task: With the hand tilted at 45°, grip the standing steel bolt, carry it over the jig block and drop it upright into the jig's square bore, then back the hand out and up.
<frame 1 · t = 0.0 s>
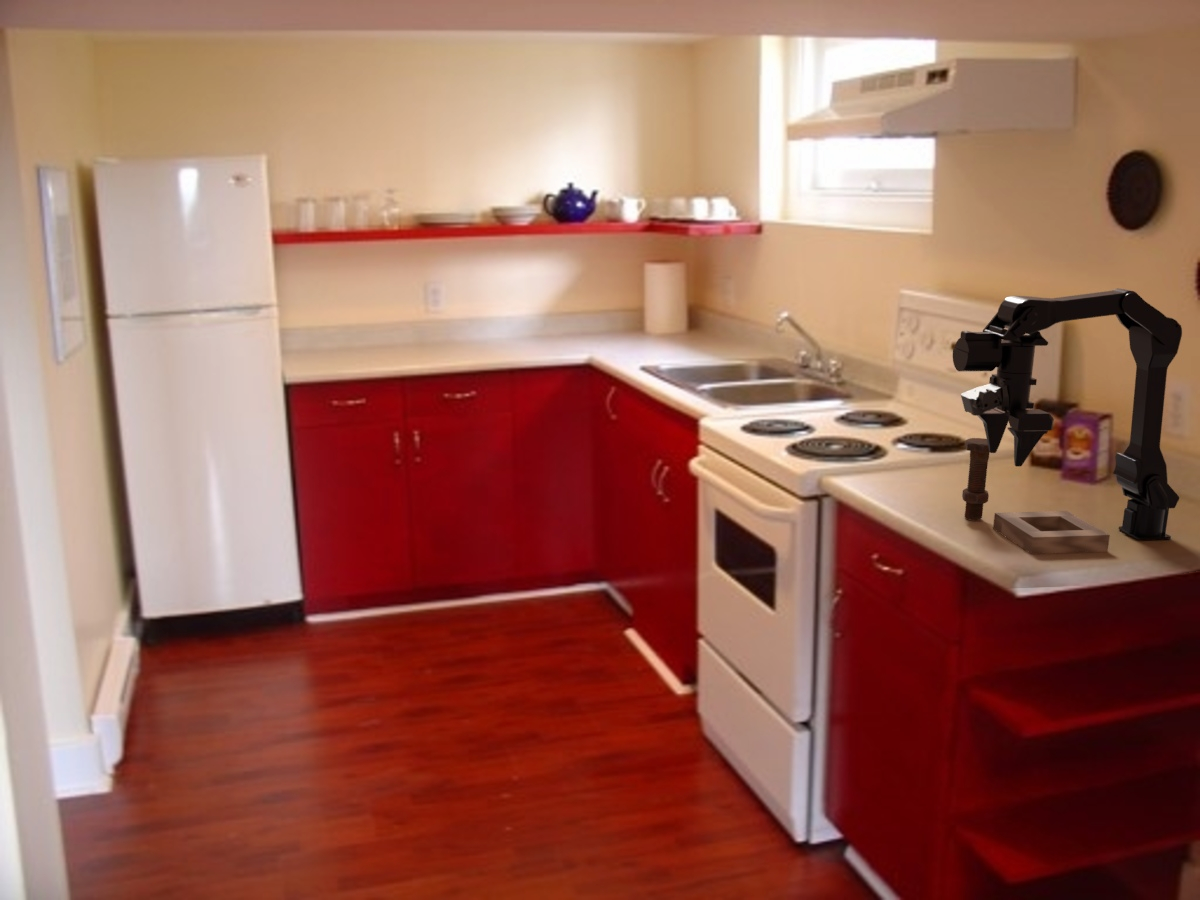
hand: (1005, 459, 200), 15 cm above the countertop, tool pointing down, fingers open, 9 cm apart
jig: (1048, 539, 204), on the countertop
bolt: (972, 519, 215), on the countertop
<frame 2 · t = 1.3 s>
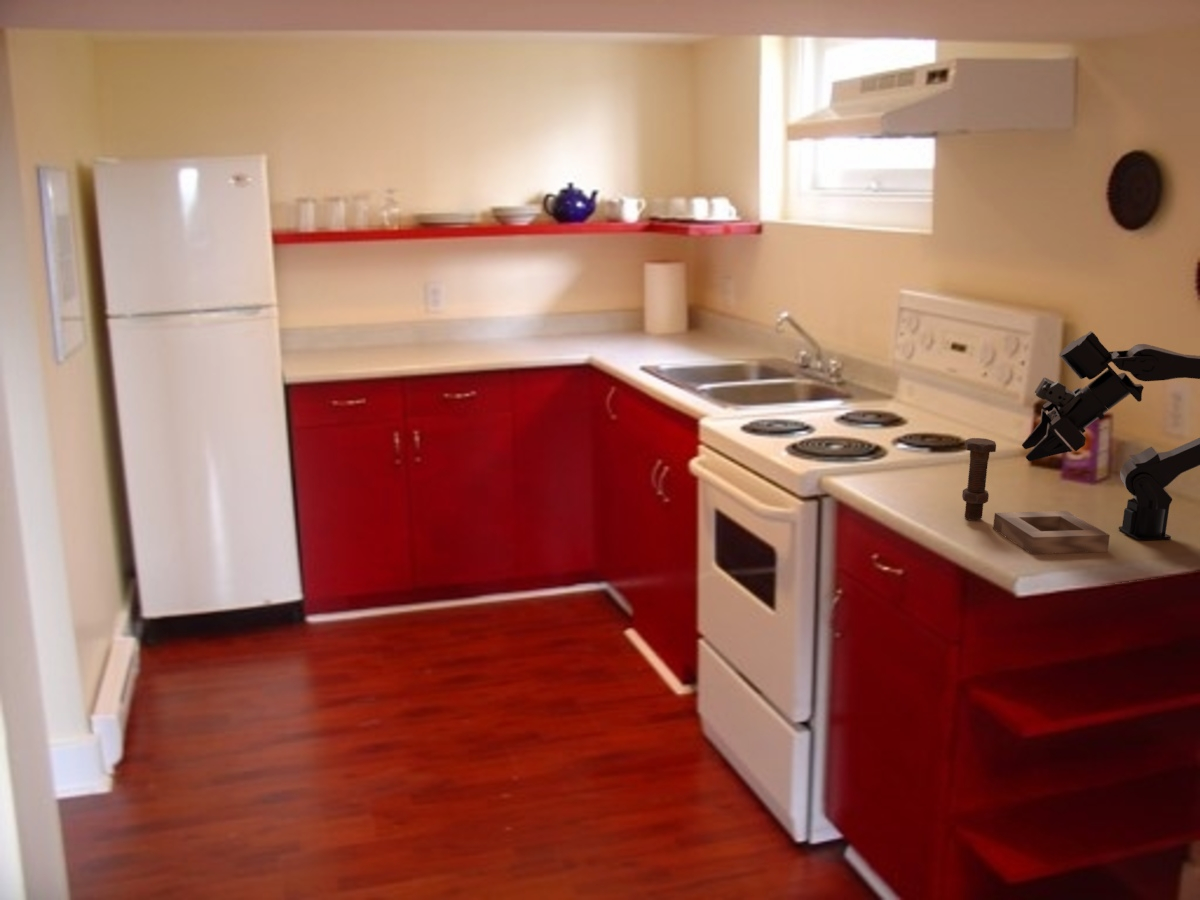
hand: (1025, 453, 210), 13 cm above the countertop, tool tilted 45°, fingers open, 9 cm apart
nothing on the countertop moved.
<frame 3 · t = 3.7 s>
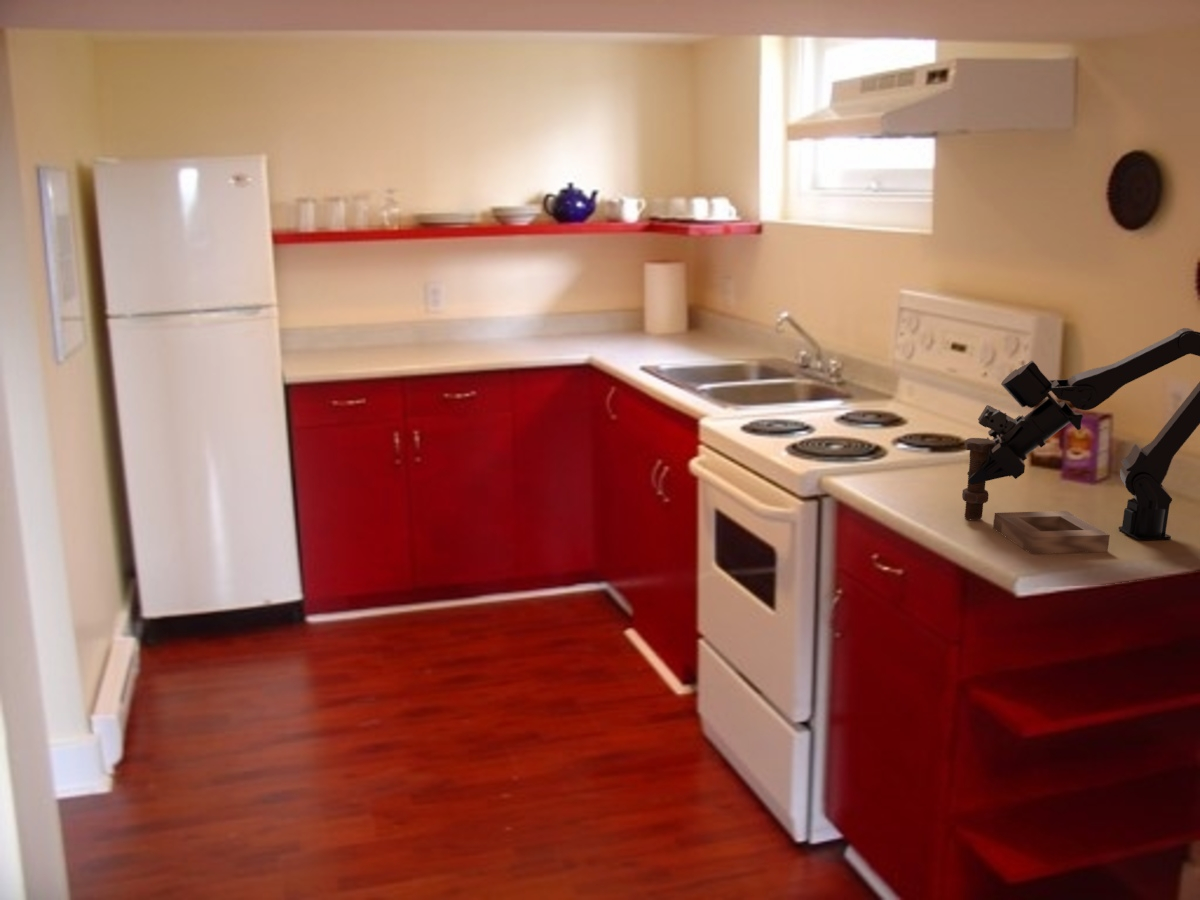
hand: (969, 479, 214), 8 cm above the countertop, tool tilted 45°, fingers closed on bolt, 5 cm apart
bolt: (972, 519, 215), on the countertop, touching gripper
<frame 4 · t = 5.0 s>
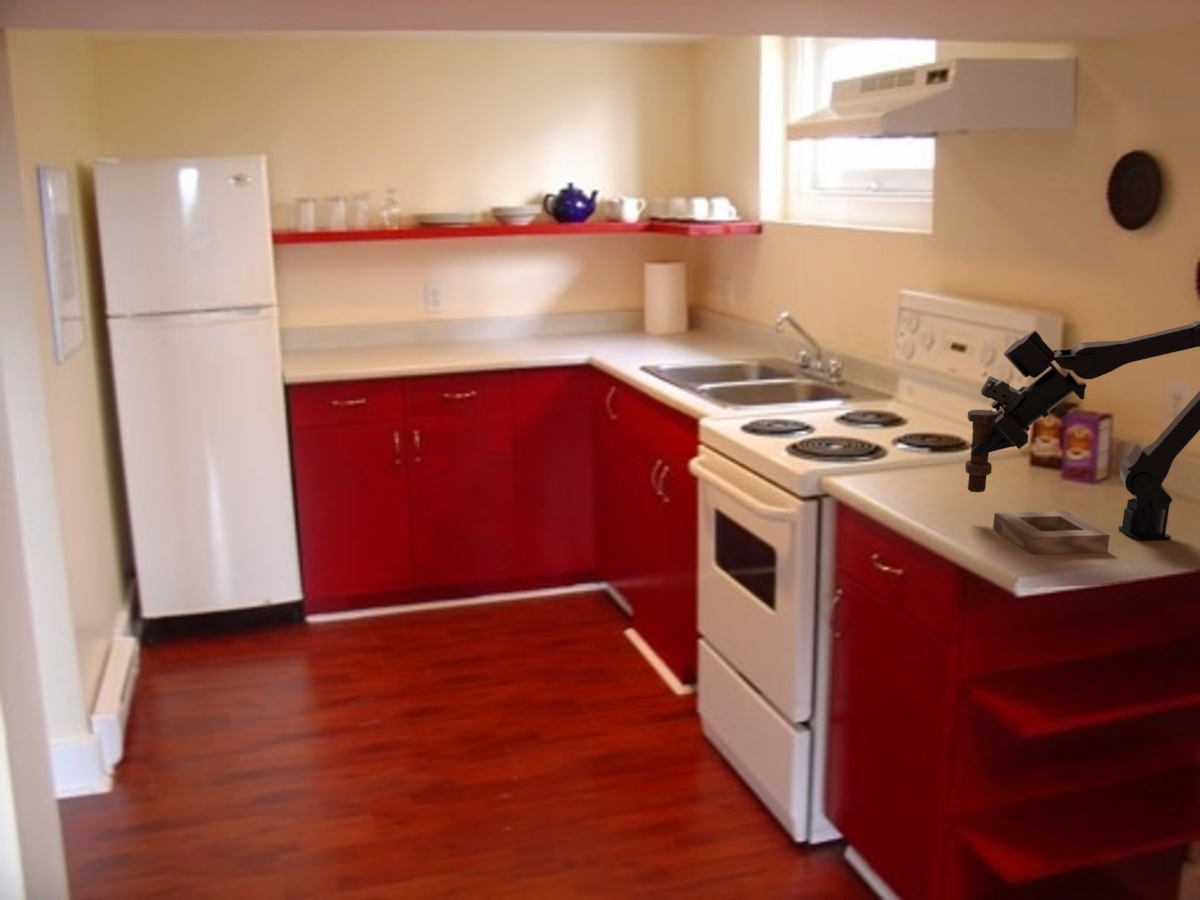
hand: (972, 451, 213), 13 cm above the countertop, tool tilted 45°, fingers closed on bolt, 5 cm apart
bolt: (976, 492, 214), point 5 cm above the countertop, touching gripper
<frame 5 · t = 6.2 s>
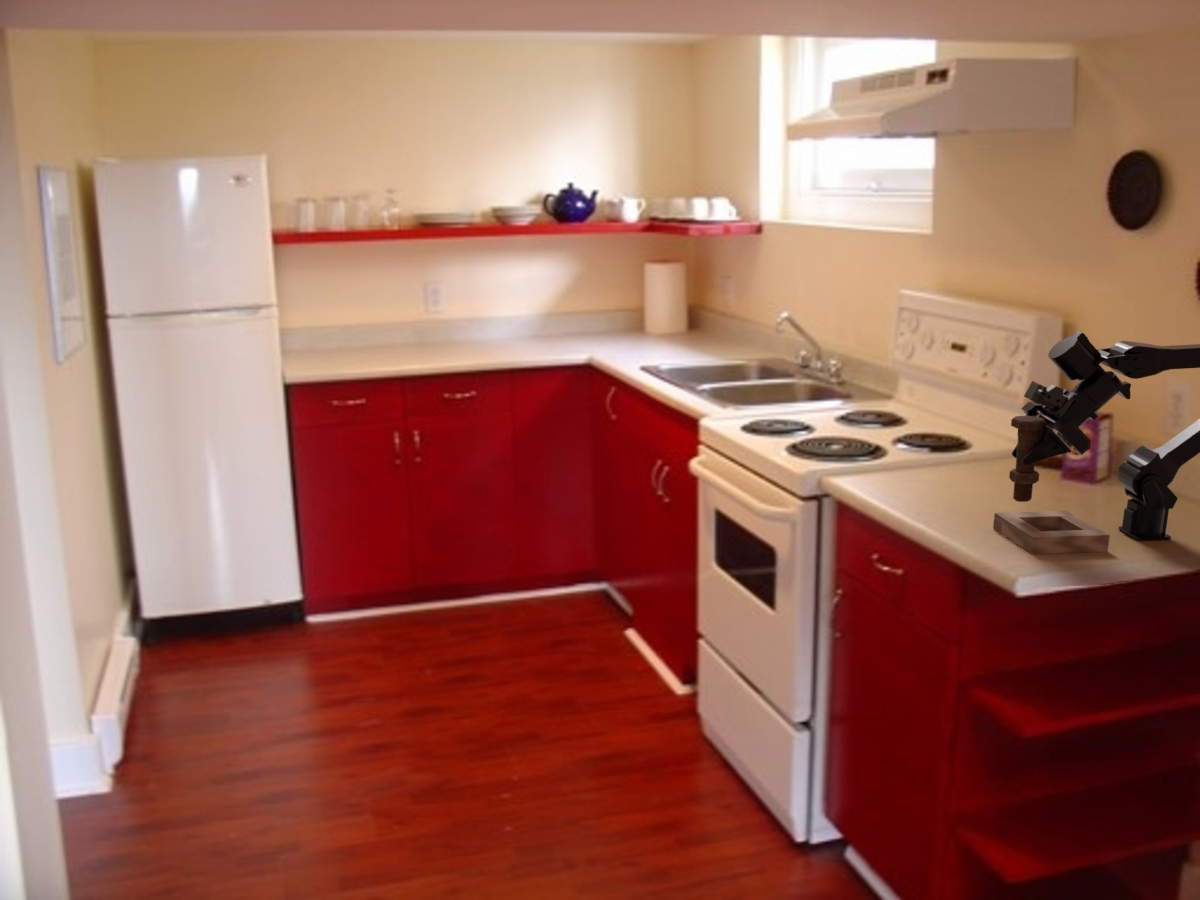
hand: (1018, 459, 204), 14 cm above the countertop, tool tilted 45°, fingers closed on bolt, 5 cm apart
bolt: (1022, 501, 206), point 6 cm above the countertop, touching gripper
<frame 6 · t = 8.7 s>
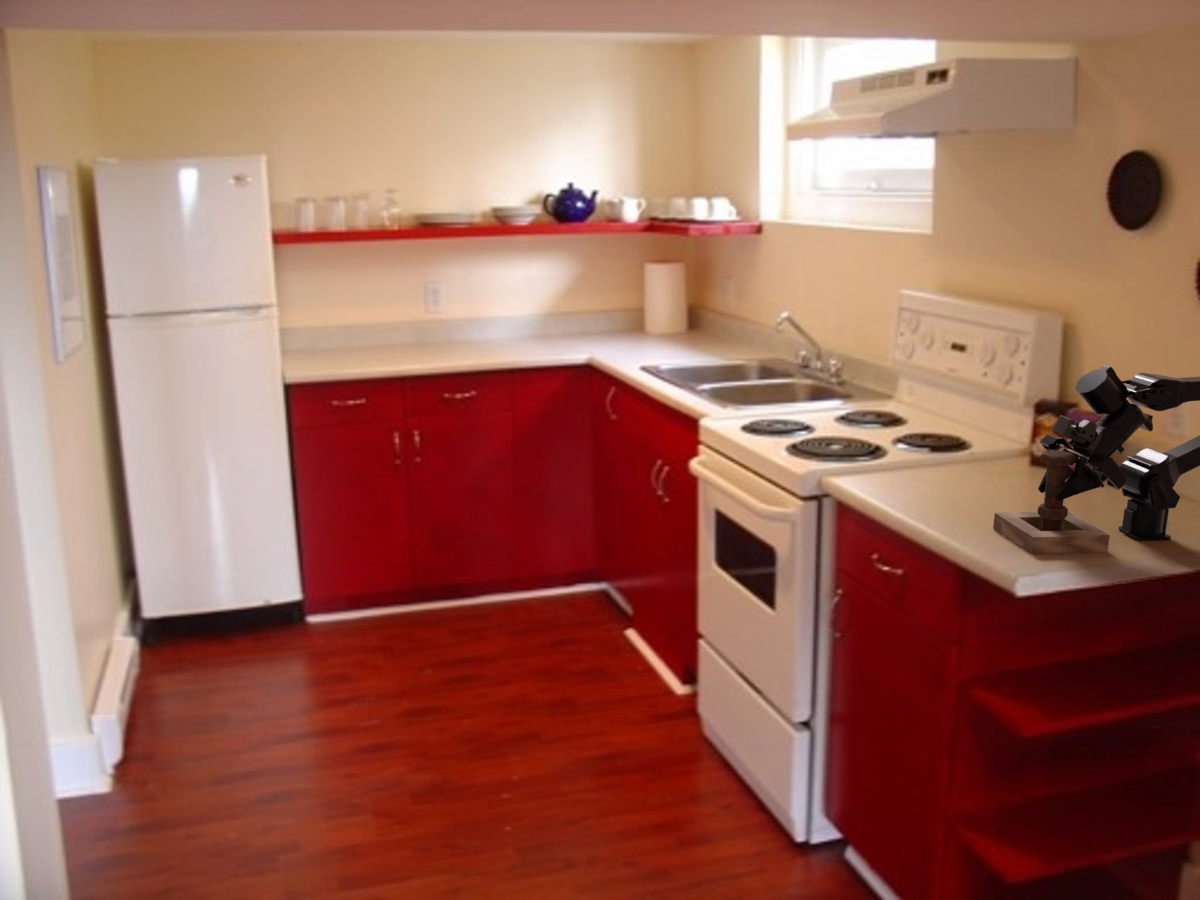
hand: (1047, 495, 202), 8 cm above the countertop, tool tilted 45°, fingers closed on bolt, 5 cm apart
bolt: (1050, 536, 204), point 1 cm above the countertop, touching gripper
when the fingers open (8 cm above the countertop, at t = 8.8 s): bolt stays where it is, resting in jig.
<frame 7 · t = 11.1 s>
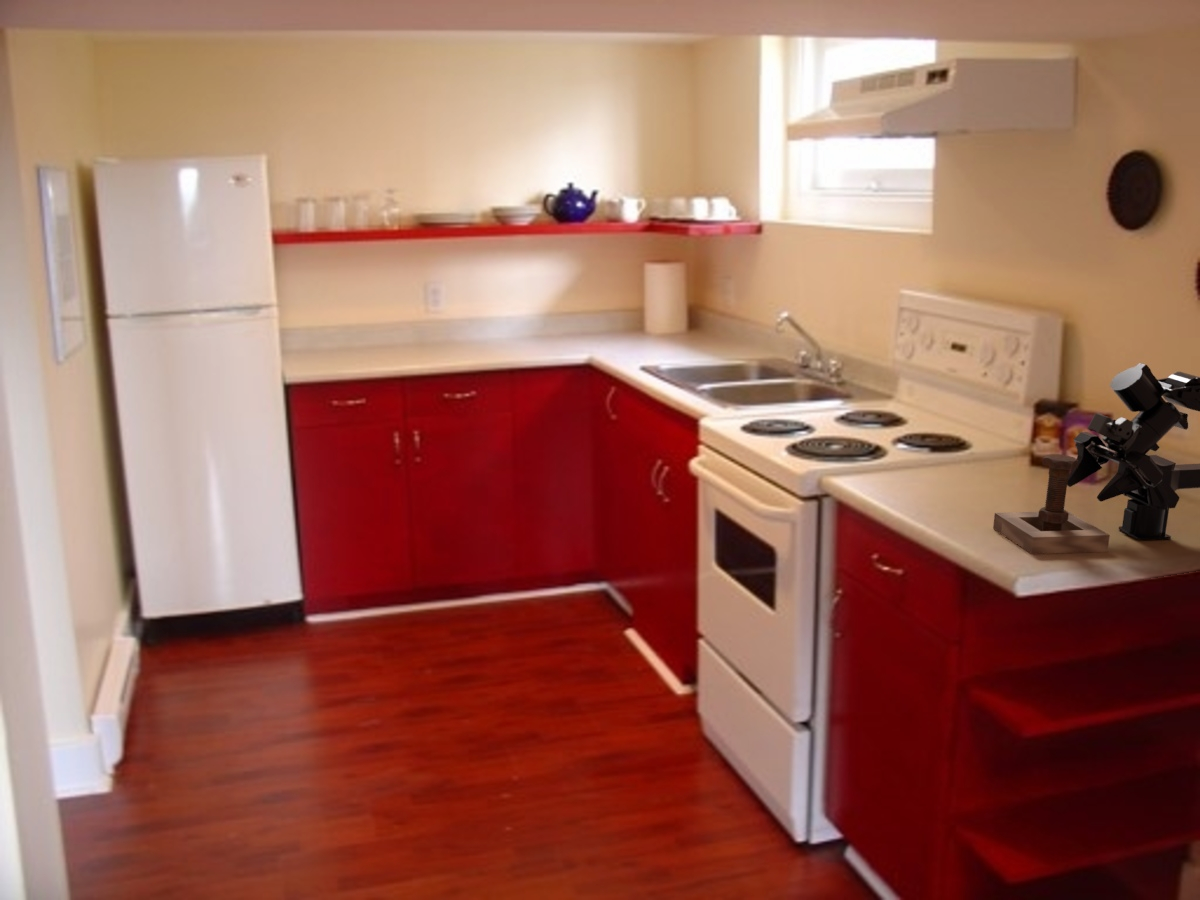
hand: (1082, 492, 203), 9 cm above the countertop, tool tilted 45°, fingers open, 9 cm apart
bolt: (1050, 540, 204), resting in jig
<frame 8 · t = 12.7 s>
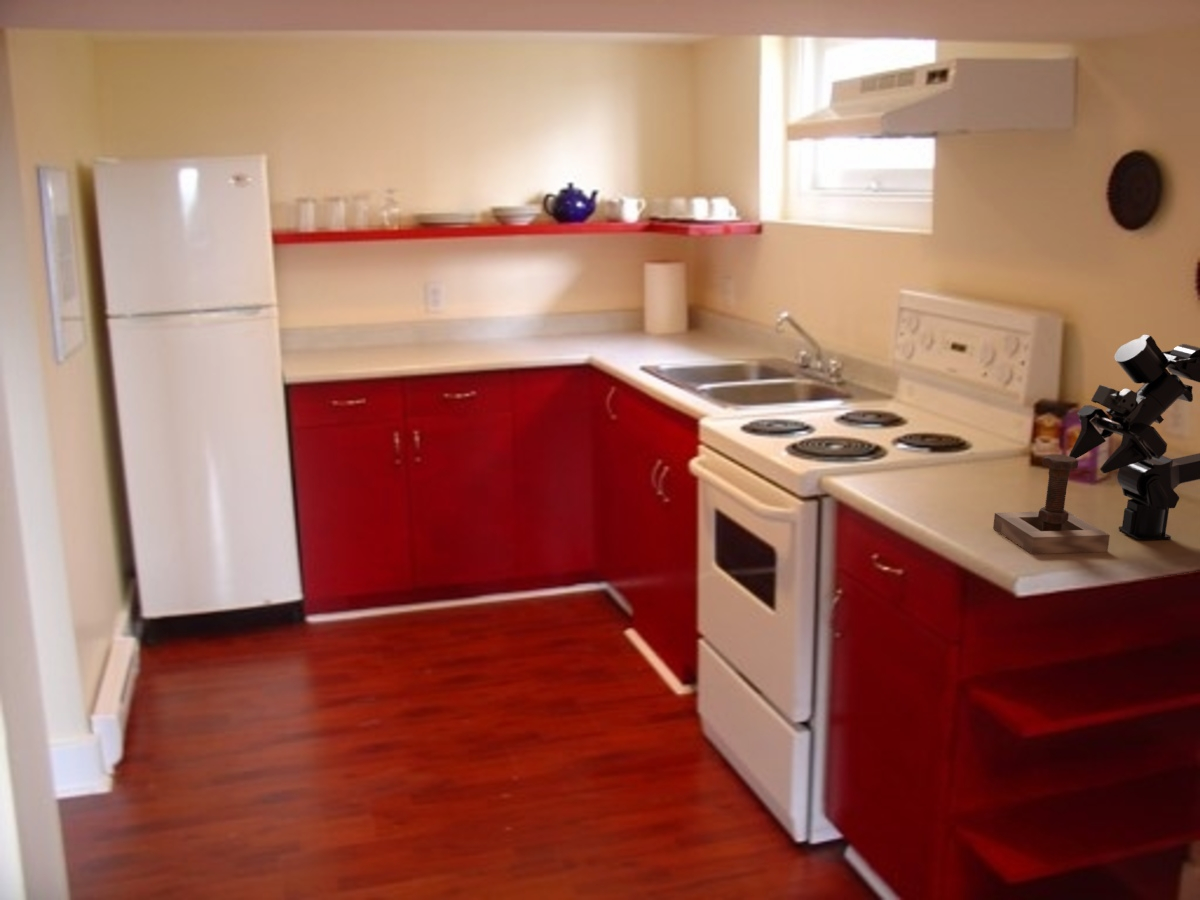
hand: (1086, 464, 202), 14 cm above the countertop, tool tilted 45°, fingers open, 9 cm apart
nothing on the countertop moved.
at the end: bolt 0.3 cm off-centre on the jig, point 0.0 cm above the jig's base; bolt tilted 1°; the gripper is holding nothing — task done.
